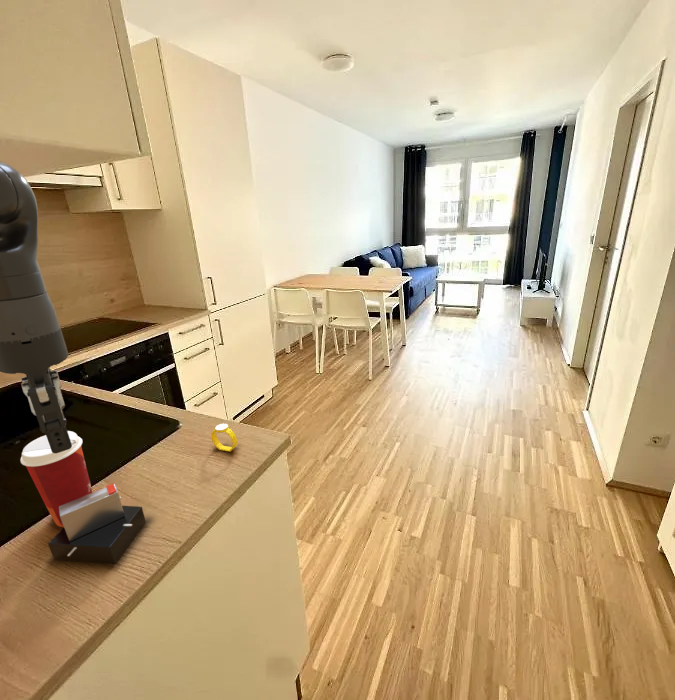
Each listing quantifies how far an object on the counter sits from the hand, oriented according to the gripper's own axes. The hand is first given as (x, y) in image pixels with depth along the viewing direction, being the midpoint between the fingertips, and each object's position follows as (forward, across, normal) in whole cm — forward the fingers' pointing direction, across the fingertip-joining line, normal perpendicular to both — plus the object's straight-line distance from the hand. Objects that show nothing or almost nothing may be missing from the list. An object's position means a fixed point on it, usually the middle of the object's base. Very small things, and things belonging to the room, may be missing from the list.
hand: (59, 436), depth 52 cm
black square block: (+20, +2, +1) cm, 20 cm away
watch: (+20, -8, +26) cm, 34 cm away
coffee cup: (+20, -8, -2) cm, 22 cm away
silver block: (+16, +1, +1) cm, 16 cm away
